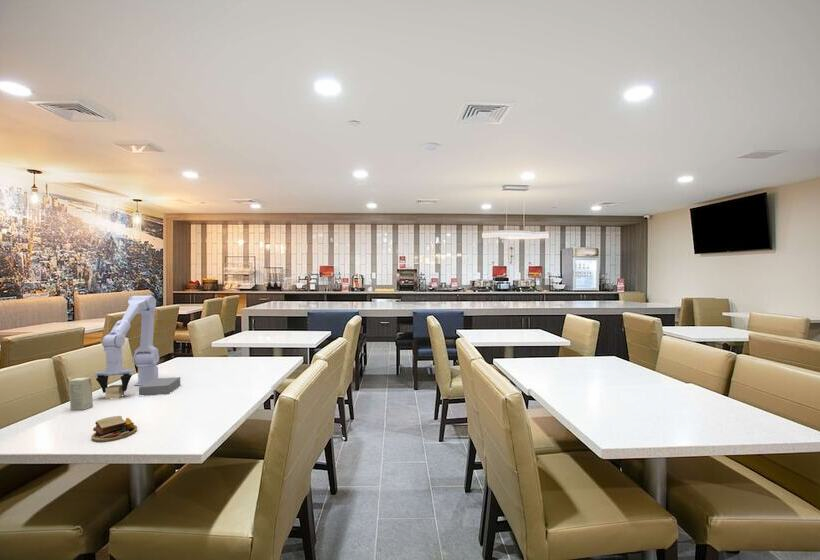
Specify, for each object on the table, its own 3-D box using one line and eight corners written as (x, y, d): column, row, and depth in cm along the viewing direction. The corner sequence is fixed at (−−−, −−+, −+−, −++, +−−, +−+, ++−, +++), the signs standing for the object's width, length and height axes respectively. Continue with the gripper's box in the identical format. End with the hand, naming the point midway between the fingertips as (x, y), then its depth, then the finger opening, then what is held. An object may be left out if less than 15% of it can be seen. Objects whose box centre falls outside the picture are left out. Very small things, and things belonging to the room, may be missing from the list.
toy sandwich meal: (93, 446, 126) (93, 432, 125) (89, 434, 135) (88, 420, 135) (140, 434, 134) (140, 421, 134) (133, 424, 144) (132, 411, 144)
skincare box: (93, 406, 163) (92, 377, 163) (83, 410, 159) (82, 380, 158) (79, 406, 164) (78, 377, 163) (69, 410, 159) (68, 380, 159)
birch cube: (112, 396, 177) (111, 385, 177) (124, 395, 178) (124, 384, 178) (105, 399, 172) (105, 388, 172) (118, 398, 173) (118, 387, 173)
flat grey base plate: (153, 387, 190) (153, 378, 190) (180, 385, 192) (180, 377, 192) (139, 396, 176) (138, 387, 176) (168, 394, 178) (168, 385, 178)
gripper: (90, 364, 169) (91, 395, 170) (127, 362, 172) (128, 393, 172) (99, 360, 176) (100, 390, 177) (135, 358, 179) (136, 388, 179)
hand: (114, 391), depth 175 cm, fingers open, 7 cm apart
